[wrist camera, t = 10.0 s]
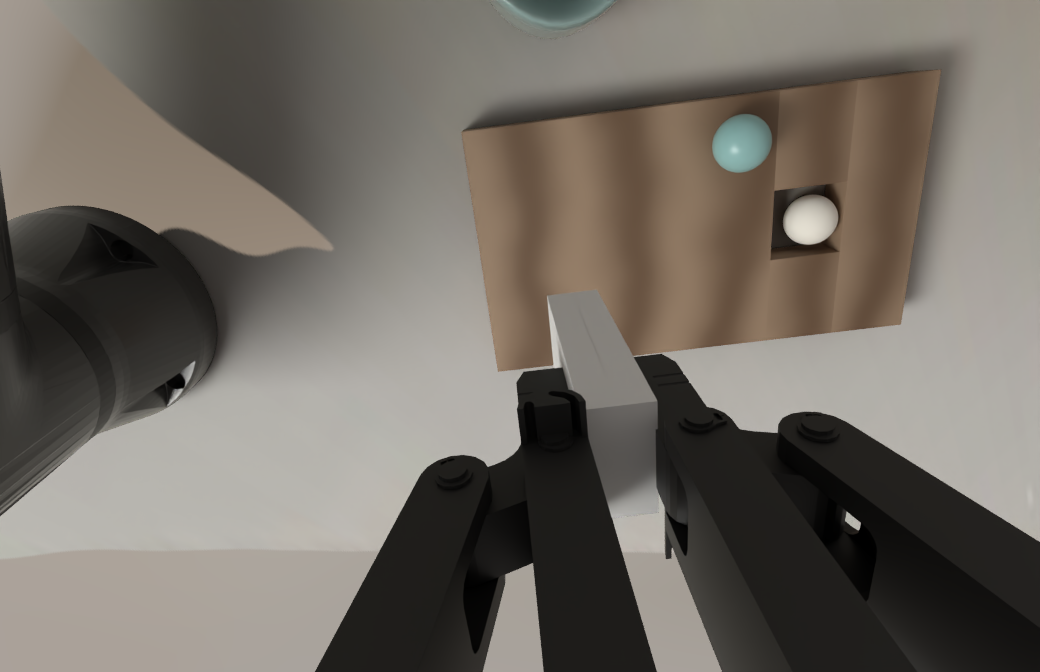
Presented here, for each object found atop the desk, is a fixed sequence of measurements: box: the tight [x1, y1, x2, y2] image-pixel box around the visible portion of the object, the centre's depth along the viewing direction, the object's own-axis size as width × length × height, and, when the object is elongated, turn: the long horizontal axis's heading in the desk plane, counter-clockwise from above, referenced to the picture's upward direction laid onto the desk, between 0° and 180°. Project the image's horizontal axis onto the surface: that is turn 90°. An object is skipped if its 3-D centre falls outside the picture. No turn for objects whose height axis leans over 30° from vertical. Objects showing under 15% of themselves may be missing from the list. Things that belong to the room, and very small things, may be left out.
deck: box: [461, 70, 941, 372], centre depth 37 cm, size 28×16×2 cm, turn 97°
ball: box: [783, 195, 838, 245], centre depth 37 cm, size 3×3×3 cm
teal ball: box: [712, 114, 772, 173], centre depth 32 cm, size 3×3×3 cm
